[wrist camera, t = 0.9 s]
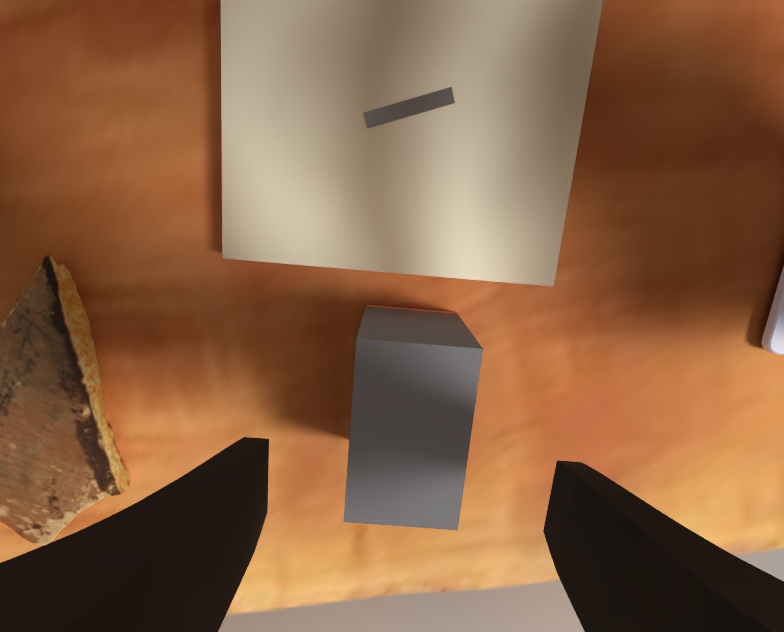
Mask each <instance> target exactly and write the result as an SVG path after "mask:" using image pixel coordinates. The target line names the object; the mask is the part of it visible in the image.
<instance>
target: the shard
mask: <svg viewBox="0 0 784 632" xmlns="http://www.w3.org/2000/svg"><path fill="white" fill-rule="evenodd" d="M129 483H130V476H129V471H128V469H127V468H126V467H125V465H124V464H123V462H122V460H121V459H120V453H119V452H118V450H117V447H116V446H115V444H114V442H113V432H112V430H111V428H110V427H109V426H108V417H107V410H106V406H105V402H104V396H103V384H102V379H101V376H100V370H99V365H98V362H97V358H96V350H95V345H94V342H93V340H92V333H91V328H90V321H89V319H88V317H87V313H86V310H85V307H84V304H83V302H82V300H81V299H80V297H79V294H78V291H77V287H76V284H75V281H74V280H73V278H72V275H71V273H70V272H69V270H68V269H67V268H66V266H65V264H63V263H62V264H59V265H57V263H56V260H55V259H54V258H53V257H52V256H51V255H47V256H46V257H45V258H44V260H43V263H42V264H41V265H40V267H39V269H38V271H37V272H36V274H35V275H34V276H33V277H32V278H31V280H30V282H29V283H28V284H27V285H26V286H25V288H24V289H23V290H22V293H21V294H20V296H19V298H18V300H17V302H16V305H15V307H14V308H13V309H12V310H11V311H10V312H9V314H8V316H7V317H6V318H5V319H4V320H3V322H2V323H1V324H0V521H1V522H3V523H4V524H6V525H7V526H9V527H10V528H12V529H13V530H14V531H15V532H16V533H17V534H19V535H20V536H22V537H23V538H25V539H26V540H28V541H30V542H31V543H33V544H40V545H47V544H49V543H50V542H51V541H52V540H53V539H54V538H55V537H56V536H57V535H58V533H59V532H60V531H61V529H63V528H64V527H65V526H66V525H67V524H68V523H69V522H70V521H71V520H72V519H73V518H74V517H75V516H77V515H78V514H79V513H80V512H81V511H83V510H84V509H86V508H88V507H90V506H91V505H93V504H94V503H96V502H98V501H99V500H101V499H102V498H104V497H107V496H115V495H120V494H122V493H123V492H124V491H126V489H127V488H128V487H129Z"/></svg>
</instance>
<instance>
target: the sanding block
mask: <svg viewBox="0 0 784 632" xmlns="http://www.w3.org/2000/svg"><path fill="white" fill-rule="evenodd" d="M482 351H483V348H482V347H481V346H480V344H479V343H478V341H477V340H476V339H475V337H474V336H473V335H472V333H471V332H470V330H469V329H468V328H467V326H466V325H465V324H464V322H463V321H462V319H461V318H460V317H459V315H458V314H457V312H450V311H438V310H426V309H414V308H402V307H390V306H378V305H366V307H365V311H364V314H363V317H362V321H361V324H360V328H359V331H358V334H357V338H356V350H355V364H354V379H353V394H352V408H351V423H350V438H349V452H348V467H347V481H346V496H345V511H344V522H351V523H365V524H379V525H393V526H407V527H421V528H435V529H449V530H458V524H459V516H460V509H461V502H462V495H463V488H464V480H465V473H466V466H467V459H468V452H469V445H470V437H471V430H472V423H473V416H474V409H475V401H476V394H477V387H478V380H479V373H480V366H481V358H482Z"/></svg>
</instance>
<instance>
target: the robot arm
mask: <svg viewBox="0 0 784 632" xmlns="http://www.w3.org/2000/svg"><path fill="white" fill-rule="evenodd" d="M762 346H763V348H764V349H765V350H766V351H769V352H772V353H775V354H780V355H784V266H783V269H782V273H781V276H780V280H779V283H778V286H777V290H776V293H775V297H774V300H773V303H772V307H771V310H770V314H769V317H768V320H767V324H766V327H765V331H764V334H763V337H762ZM268 457H269V439H261V438H248V437H244V438H242V439H240V440H238V441H237V442H235V443H233V444H232V445H230V446H229V447H227V448H226V449H224V450H223V451H221V452H220V453H218V454H217V455H215V456H213V457H212V458H210V459H209V460H207V461H206V462H204V463H203V464H201V465H199V466H198V467H196V468H195V469H193V470H192V471H190V472H188V473H187V474H185V475H184V476H182V477H180V478H179V479H177V480H175V481H174V482H172V483H170V484H168V485H167V486H165V487H163V488H162V489H160V490H158V491H156V492H155V493H153V494H151V495H149V496H148V497H146V498H144V499H143V500H141V501H139V502H137V503H135V504H133V505H131V506H130V507H128V508H126V509H124V510H122V511H120V512H118V513H116V514H114V515H112V516H110V517H108V518H106V519H104V520H101V521H99V522H97V523H95V524H93V525H91V526H89V527H87V528H85V529H82V530H80V531H78V532H76V533H73V534H71V535H69V536H66V537H64V538H61V539H59V540H56V541H54V542H52V543H49V544H47V545H44V546H42V547H39V548H37V549H35V550H32V551H30V552H27V553H25V554H22V555H20V556H18V557H15V558H12V559H10V560H7V561H4V562H2V563H0V632H218V630H219V628H220V626H221V624H222V621H223V620H224V617H225V615H226V613H227V611H228V609H229V607H230V604H231V602H232V600H233V598H234V596H235V594H236V591H237V589H238V587H239V585H240V583H241V580H242V578H243V576H244V574H245V572H246V569H247V567H248V565H249V563H250V561H251V558H252V556H253V554H254V551H255V548H256V545H257V542H258V539H259V536H260V533H261V530H262V527H263V524H264V521H265V517H266V514H267V504H268ZM544 534H545V537H546V541H547V544H548V547H549V550H550V553H551V556H552V559H553V562H554V565H555V568H556V571H557V573H558V576H559V578H560V580H561V582H562V584H563V586H564V589H565V591H566V593H567V595H568V597H569V599H570V601H571V603H572V606H573V608H574V610H575V612H576V614H577V616H578V618H579V620H580V622H581V625H582V627H583V629H584V631H585V632H784V582H783V581H781V580H780V579H777V578H775V577H773V576H772V575H770V574H768V573H766V572H764V571H762V570H760V569H758V568H756V567H755V566H753V565H751V564H749V563H747V562H745V561H743V560H741V559H739V558H737V557H736V556H734V555H732V554H730V553H728V552H727V551H725V550H723V549H721V548H720V547H718V546H716V545H714V544H713V543H711V542H709V541H708V540H706V539H704V538H703V537H701V536H699V535H697V534H696V533H694V532H692V531H691V530H689V529H687V528H686V527H684V526H682V525H681V524H679V523H678V522H676V521H674V520H673V519H671V518H669V517H668V516H666V515H665V514H663V513H662V512H660V511H658V510H657V509H655V508H654V507H652V506H651V505H649V504H647V503H646V502H644V501H643V500H641V499H640V498H638V497H637V496H635V495H634V494H632V493H631V492H629V491H627V490H626V489H624V488H623V487H621V486H620V485H618V484H617V483H615V482H614V481H612V480H611V479H609V478H607V477H606V476H604V475H603V474H601V473H599V472H598V471H596V470H594V469H593V468H591V467H589V466H587V465H585V464H583V463H581V462H569V461H557V463H556V468H555V474H554V479H553V484H552V489H551V494H550V500H549V505H548V510H547V515H546V520H545V526H544Z"/></svg>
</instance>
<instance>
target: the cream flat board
mask: <svg viewBox="0 0 784 632" xmlns="http://www.w3.org/2000/svg"><path fill="white" fill-rule="evenodd" d="M602 5H603V0H221V118H222V258H224V259H236V260H247V261H259V262H271V263H283V264H295V265H306V266H318V267H330V268H342V269H354V270H365V271H377V272H389V273H401V274H413V275H424V276H436V277H448V278H460V279H472V280H484V281H495V282H507V283H519V284H531V285H543V286H554V282H555V276H556V270H557V265H558V259H559V253H560V247H561V241H562V236H563V230H564V224H565V218H566V213H567V207H568V201H569V195H570V189H571V184H572V178H573V172H574V166H575V161H576V155H577V149H578V143H579V137H580V132H581V126H582V120H583V114H584V109H585V103H586V97H587V91H588V85H589V80H590V74H591V68H592V62H593V57H594V51H595V45H596V39H597V33H598V28H599V22H600V16H601V10H602Z"/></svg>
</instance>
